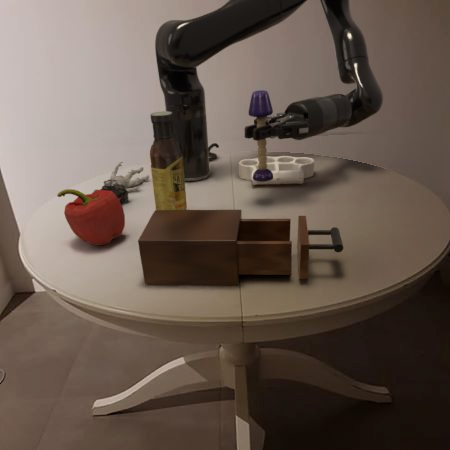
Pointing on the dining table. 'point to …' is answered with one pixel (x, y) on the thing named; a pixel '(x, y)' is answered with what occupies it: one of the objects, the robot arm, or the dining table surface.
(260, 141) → the toy lamp
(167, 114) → the sauce bottle
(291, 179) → the white brass knuckles
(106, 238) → the vegetable
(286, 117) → the robot arm
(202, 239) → the cabinet
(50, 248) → the dining table surface
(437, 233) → the dining table surface
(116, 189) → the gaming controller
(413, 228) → the dining table surface
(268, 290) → the dining table surface
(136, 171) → the grey branched piece
